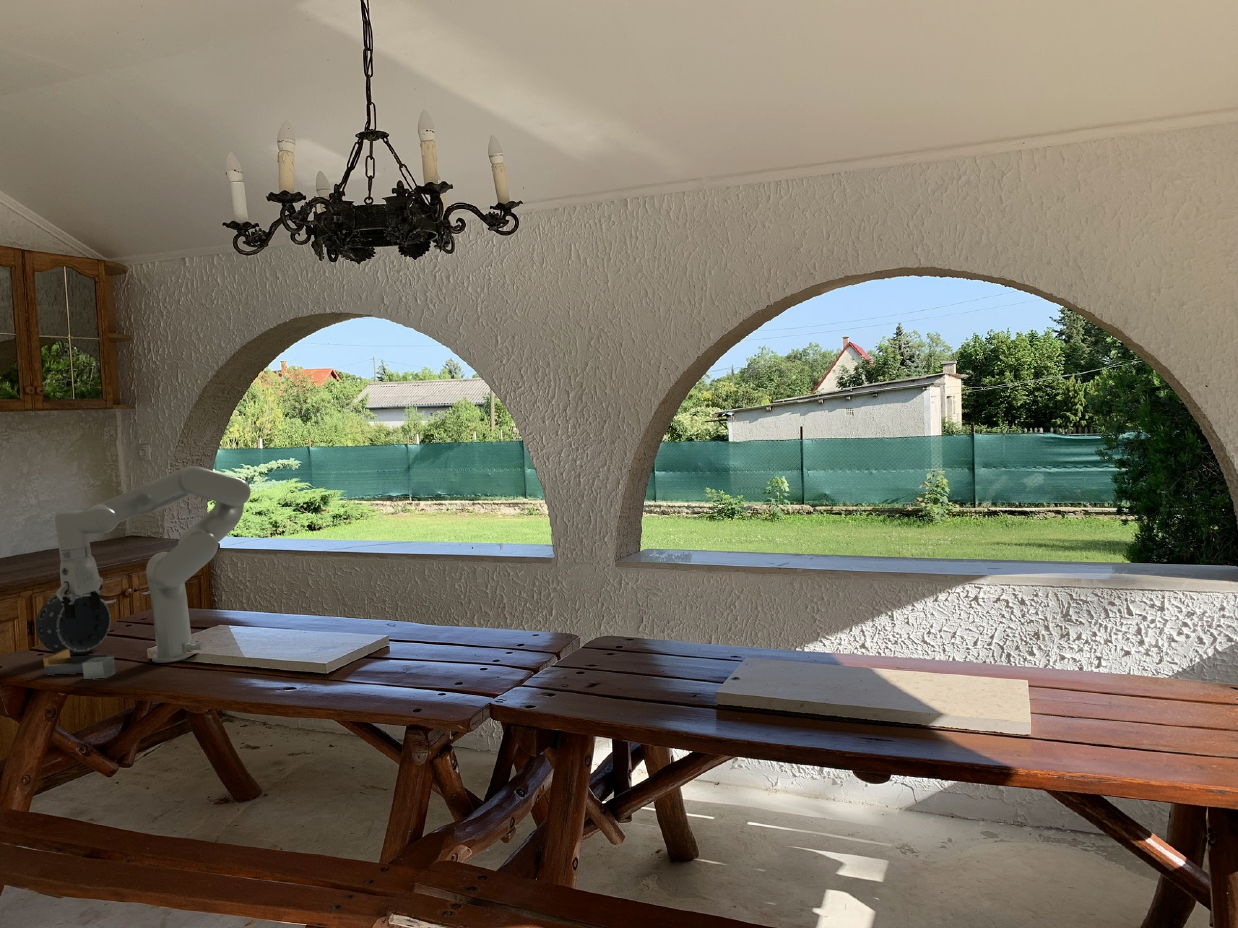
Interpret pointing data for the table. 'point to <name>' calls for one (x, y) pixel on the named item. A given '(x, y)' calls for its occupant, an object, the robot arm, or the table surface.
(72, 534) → the robot arm
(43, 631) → the dark grey studded drum
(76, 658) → the coupler bracket
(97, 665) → the grey cube
